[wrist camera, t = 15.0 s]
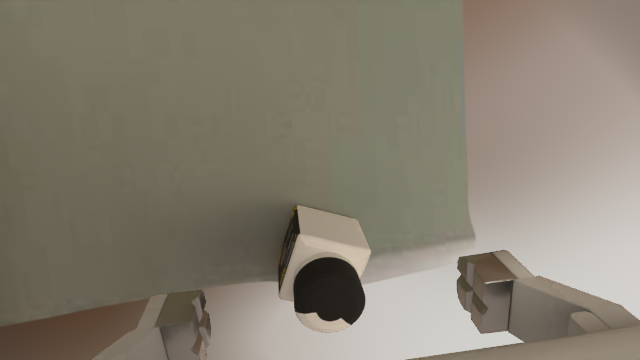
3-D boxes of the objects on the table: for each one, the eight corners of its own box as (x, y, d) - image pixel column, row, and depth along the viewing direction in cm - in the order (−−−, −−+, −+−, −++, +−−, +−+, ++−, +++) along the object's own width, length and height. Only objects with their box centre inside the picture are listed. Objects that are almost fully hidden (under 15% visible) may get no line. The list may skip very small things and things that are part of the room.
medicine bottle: (295, 203, 44) (302, 263, 32) (358, 218, 45) (385, 281, 34) (277, 260, 46) (278, 335, 35) (338, 273, 47) (357, 350, 36)
